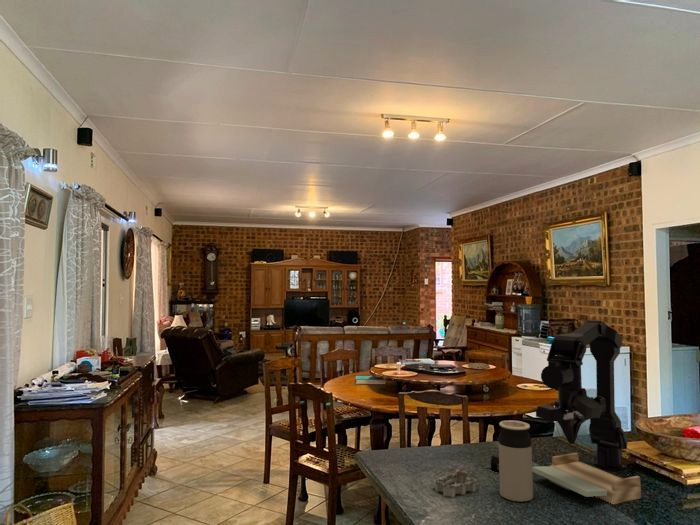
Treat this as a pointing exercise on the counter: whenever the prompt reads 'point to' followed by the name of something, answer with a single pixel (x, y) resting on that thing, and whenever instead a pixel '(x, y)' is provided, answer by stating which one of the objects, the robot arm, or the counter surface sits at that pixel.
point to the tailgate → (569, 481)
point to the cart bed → (600, 479)
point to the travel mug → (515, 461)
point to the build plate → (494, 463)
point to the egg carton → (455, 483)
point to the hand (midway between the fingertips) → (571, 443)
